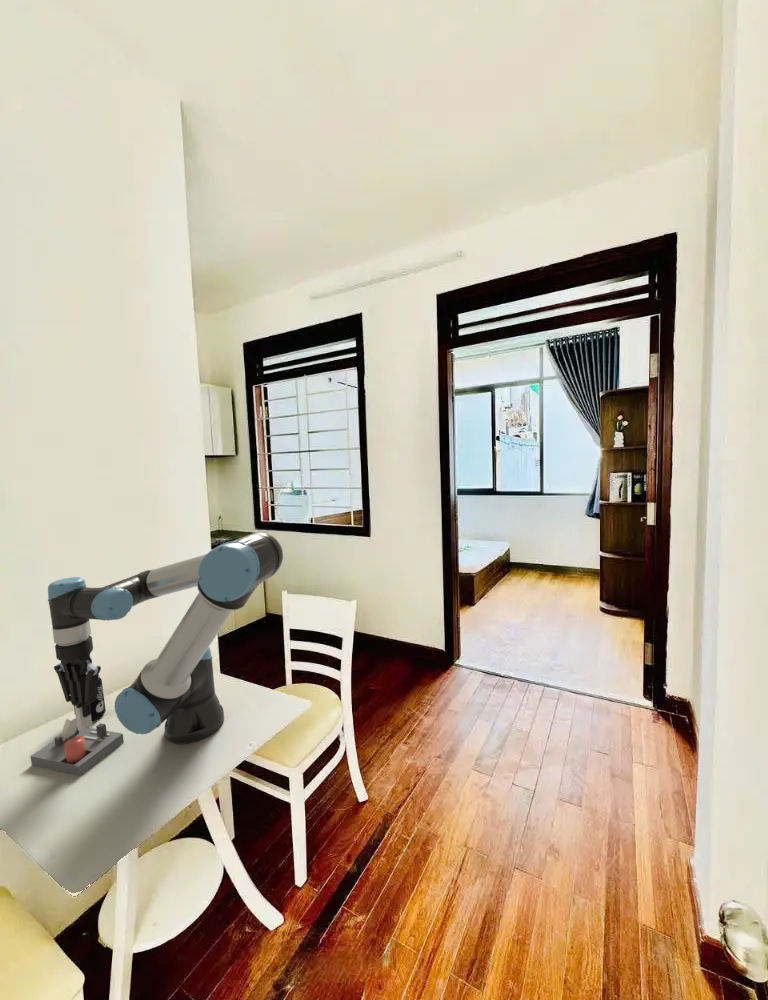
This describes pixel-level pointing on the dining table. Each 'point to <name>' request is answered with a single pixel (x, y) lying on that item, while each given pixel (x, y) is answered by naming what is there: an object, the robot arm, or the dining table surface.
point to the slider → (101, 730)
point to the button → (75, 749)
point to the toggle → (69, 727)
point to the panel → (95, 751)
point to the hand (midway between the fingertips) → (85, 727)
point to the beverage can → (98, 703)
